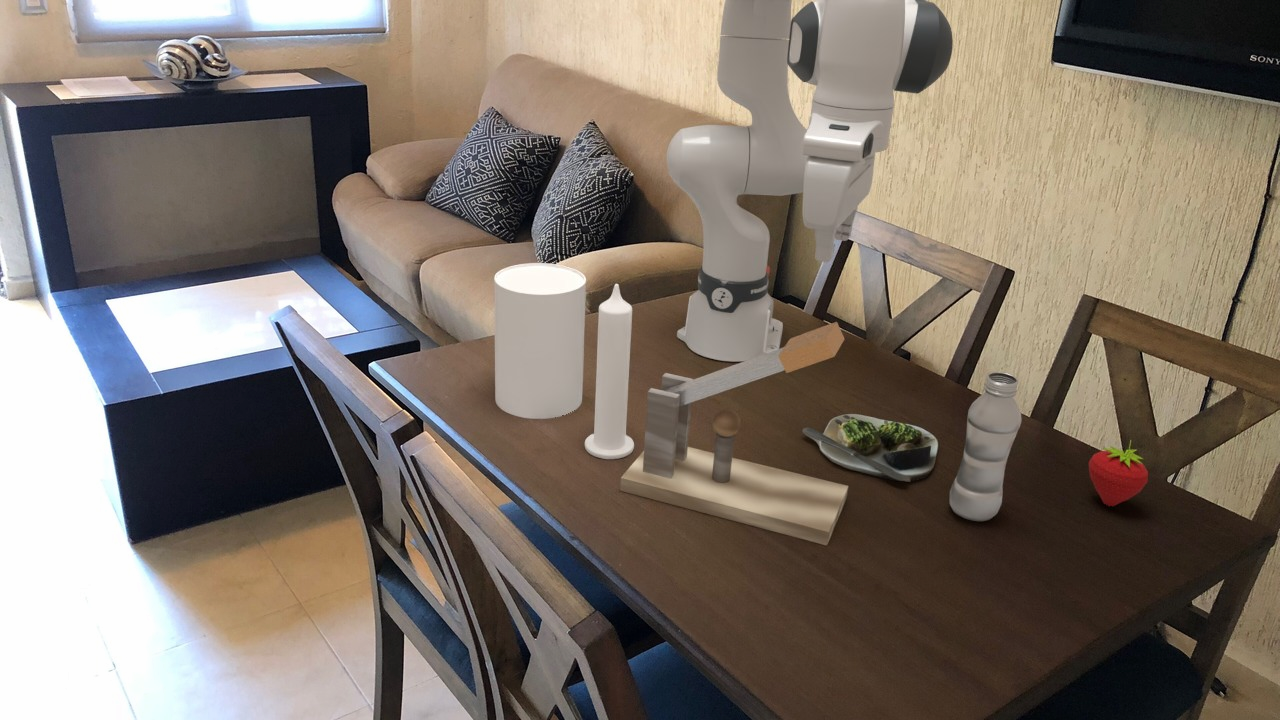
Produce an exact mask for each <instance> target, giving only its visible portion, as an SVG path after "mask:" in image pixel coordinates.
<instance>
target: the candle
mask: <svg viewBox="0 0 1280 720" xmlns="http://www.w3.org/2000/svg"><path fill="white" fill-rule="evenodd" d="M632 319H633V307H632V305H631V304H630V303H628V302H627V301H626V300H625V299H623V297H622V295H621V290H620V286H619V284H618V283H615V284H614V286H613V289H612V293H611V296H610V297H609V298H608V299H607V300H605V301H603V302H601V303H600V304H599V306H598V324H597V325H598V326H597V346H596V347H597V349H596V350H597V351H596V353H597V354H596V374H595V379H596V380H595V401H594V431H593V432H594V433H591V434H590V435H588V437H586V438H585V441H584V448H585V451H586V452H587V453H588V454H590V455H591V456H593V457H595V458H600V459H604V460H618V459H622V458H625V457H629V455H631V453H632V452H633V451H634V449H635V443H634V440H633V439H632V438H631V437H630V436H629V435H627V434H626V433H627V419H628V418H627V414H628V400H629V399H628V397H629V378H630V376H629V375H630V359H631V358H630V356H631V343H632V342H631V339H632V325H633V323H632V322H633V321H632Z"/></svg>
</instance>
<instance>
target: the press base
mask: <svg viewBox="0 0 1280 720" xmlns="http://www.w3.org/2000/svg"><path fill="white" fill-rule="evenodd" d="M691 380H694V378H691V377H685V376H682V375H676V374H672V373H667V372H665V373H664V374H663V375H662V376H661V387H660V388H661V389H657V388H653V387H651V388H650V389H649V390H648V391H647V398H646V414H645V416H646V417H645V429H644V443H643V451H642V452H641V453H640V455H638V457H637V458H636V459H635V461H633V463H632V464H631V465H630V466H629V467H628V468H627V470H626V471H625V472H624V473H623V475H622V476H621V477H620V484H619V485H620V487H619V489H620V491H621V492H624V493H628V494H631V495H634V496H639V497H642V498H643V497H644V498H646V499H650V500H655V501H657V502H662V503H665V504H669V505H672V506H673V505H674V506H677V507H680V508H685V509H688V510H692V511H696V512H698V513H703V514H706V515H710V516H714V517H717V518H721V519H726V520H729V521H733V522H736V523H740V524H744V525H749V526H751V527H752V526H753V527H756V528H759V529H763V530H766V531H769V532H770V531H771V532H775V533H779V534H782V535H787V536H789V537H793V538H796V539H801V540H804V541H808V542H812V543H816V544H820V545H822V546H823V545H824V546H828V545H829V541H830V539H831V537H832V535H833V532H834V530H835V527H836V524H837V522H838V520H839V518H840V515H841V513H842V510H843V508H844V505H845V503H846V500H847V497H848V492H849V485H845V484H842V483H837V482H834V481H830V480H825V479H821V478H817V477H813V476H809V475H804V474H801V473H797V472H792V471H788V470H785V469H780V468H776V467H774V466H773V467H772V466H768V465H764V464H760V463H756V462H751V461H747V460H744V459H739V458H735V457H733V452H734V442H735V434H737V433H738V431H739V430H740V427H741V418H740V416H739V415H738V413H737V412H735V411H734V410H733V409H730V408H729V409H728V408H725V409H721V410H718V412H716V413H715V414H714V416H713V419H712V427H713V430H714V431H715V432H716V433H715V441H714V442H715V444H714V451H713V452H712V451H711V452H710V451H706V450H703V449H699V448H695V447H690V446H689V445H688V444H689V436H690V435H689V433H690V422H691V413H692V412H691V411H692V402H691V403H688V404H685V405H682V406H680V407H679V400H680V394H675V393H671V392H666V391H663V390H666V389H669V388H671V387H674V386H677V385H680V384H683V383H685V382H688V381H691Z"/></svg>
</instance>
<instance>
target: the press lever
mask: <svg viewBox="0 0 1280 720" xmlns="http://www.w3.org/2000/svg"><path fill="white" fill-rule="evenodd" d="M845 339H846V338H845V337H844V334H843V332H842V329H841V328H840V326H839V323H838V321H835V322H832V323H829V324H827V325H823V326H821V327H817V328H816V329H812V330H810V331H807V332H805V333H801V334H799V335H795V336H794V337H790V338H789V340H787V343H786V344H785V345H784V346H783V347H780V348H779V349H777V350H775V351H772V352H769V353H766V354H764V355H761V356H758V357H755V358H752V359H750V360H747V361H740V362H739V363H736V364H734V365H730V366H727V367H724V368H722V369H719V370H716V371H713V372H711V373H708V374H705V375H703V376H702V375H701V376H700V377H697V378H693V380H691V381H688V382H685V383H683V384H680V385H677V386H674V387H671V388H669V389H666V390H663V391H666V392H671V393H675V394H680V400H679V407H680V406H682V405H685V404H688V403H691V404H692V403H694V402H697V401H699V400H702V399H705V398H708V397H710V396H711V397H712V396H714V395H717V394H720V393H723V392H725V391H728V390H731V389H734V388H737V387H740V386H743V385H746V384H748V383H752V382H754V381H757V380H760V379H763V378H766V377H769V376H771V375H775V374H778V373H781V372H784V371H785V374H788V373H791V372H794V371H797V370H800V369H802V368H806V367H809V366H811V365H814V364H818V363H820V362H823V361H826V360H830V359H831V358H835V356H836V355H837V353H838V351H839V350H840V348H841V346H842V344H843V343H844V341H845Z"/></svg>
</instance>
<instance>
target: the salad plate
mask: <svg viewBox="0 0 1280 720" xmlns="http://www.w3.org/2000/svg"><path fill="white" fill-rule="evenodd" d="M802 433H803V434H804V435H805V436H807V437H808V438H810V439H811V440H813V442H814V441H815V442H816V443H817V445H818V447H819V450H820V452H821V453H822V455H824V456H825V457H826V458H828V459H829V460H830V461H831V462H832V463H834V464H836V465H839V466H840V467H843V468H845V469H847V470H851V471H856V472H859V473H862V474H863V473H864V474H866V475H870V476H875V477H877V476H878V478H881V479H885V478H886V479H885V480H889V479H890V481H894V480H895V481H896V482H902V481H905V483H906V482H909V483H911V482H914V481H913V480H915V481H918V480H917V479H920V480H922V479H925V478H926V477H927V476H928V475H929V474H930V473H931V472H932V470H933V469H934V467H935V464H936V458H937V456H938V453H939V448H940V444H939V442H938V441H939V440H938V438H936V436H935V435H933V434H932V433H931V432H930V431H928V430H925V428H922V427H920V426H916V425H912V424H908V423H905V422H896V421H891V420H886V419H881V418H877V417H872V416H869V415H868V416H867V415H862V414H857V413H849V414H847V413H846V414H842V415H838V416H836V417H833V418H832V419H830V420H829V422H828V424H827V425H826V427H825V429H824V432H823V433H822V432H820V431H819V430H817V429H815V428H813V427H809V426H807V427H803V429H802ZM889 450H890V451H889ZM924 477H925V478H924ZM921 478H922V479H921ZM895 481H894V482H895Z"/></svg>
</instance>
